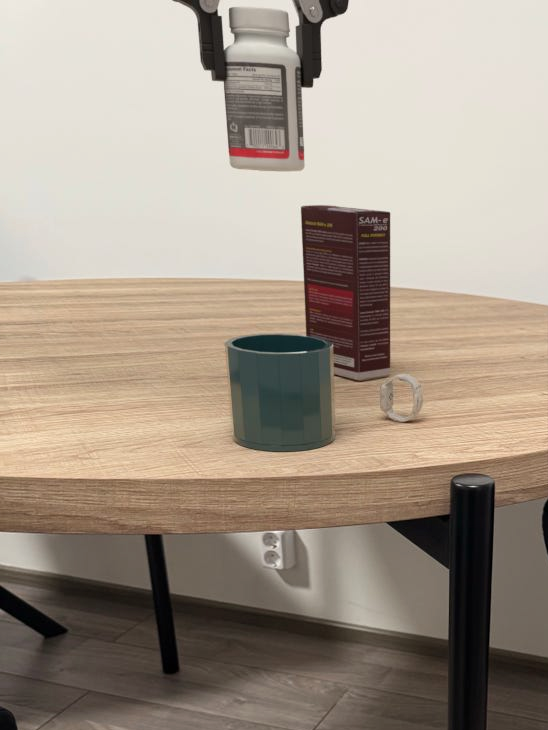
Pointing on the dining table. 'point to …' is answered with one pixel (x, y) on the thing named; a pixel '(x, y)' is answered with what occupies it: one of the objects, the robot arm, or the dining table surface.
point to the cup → (281, 391)
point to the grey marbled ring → (387, 395)
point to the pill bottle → (263, 92)
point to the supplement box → (348, 286)
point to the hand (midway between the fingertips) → (263, 82)
